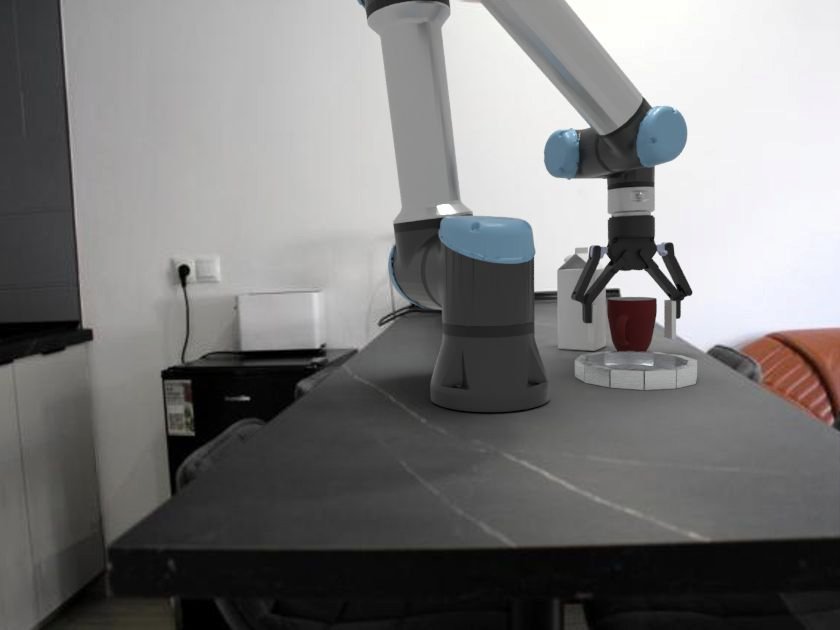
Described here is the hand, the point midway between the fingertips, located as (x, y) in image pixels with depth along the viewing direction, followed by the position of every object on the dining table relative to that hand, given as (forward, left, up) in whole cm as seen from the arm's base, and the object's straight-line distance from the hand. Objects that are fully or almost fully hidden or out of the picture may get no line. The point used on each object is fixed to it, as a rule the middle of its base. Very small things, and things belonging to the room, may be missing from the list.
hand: (631, 340), depth 106 cm
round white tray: (-6, -16, -3) cm, 17 cm away
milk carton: (-5, +11, -3) cm, 13 cm away
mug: (0, 0, -3) cm, 3 cm away
